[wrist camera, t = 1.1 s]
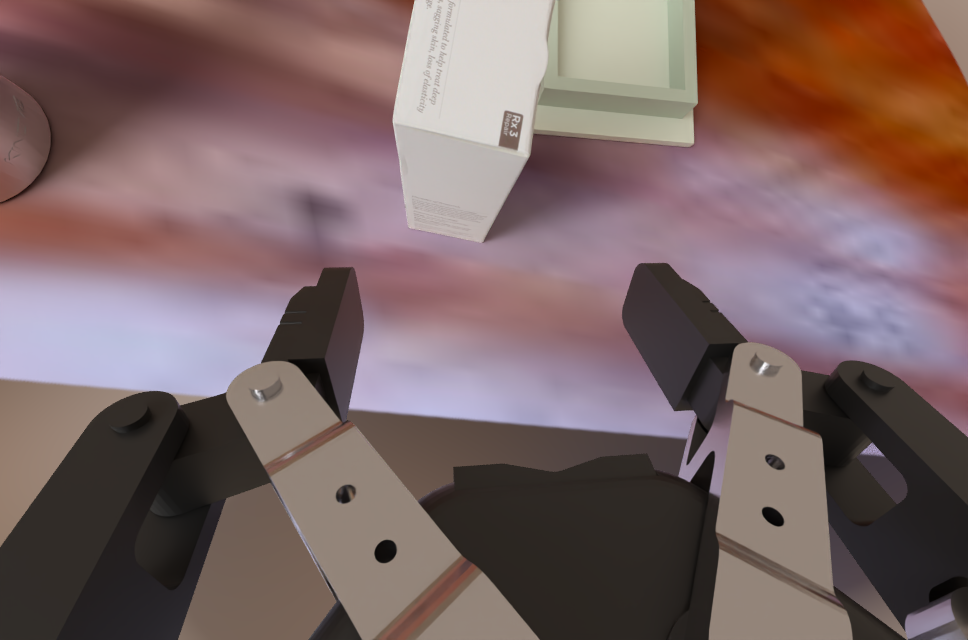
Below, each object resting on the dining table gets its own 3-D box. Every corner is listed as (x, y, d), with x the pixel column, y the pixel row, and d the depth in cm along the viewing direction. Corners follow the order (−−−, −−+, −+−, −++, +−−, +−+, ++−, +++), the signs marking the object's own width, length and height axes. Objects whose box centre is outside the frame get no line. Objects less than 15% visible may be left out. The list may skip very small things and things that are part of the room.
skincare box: (427, 129, 31) (420, -79, 16) (504, 147, 31) (566, -39, 17) (407, 235, 30) (380, 116, 15) (487, 251, 30) (536, 151, 16)
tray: (522, 132, 32) (530, 112, 29) (524, -76, 33) (532, -112, 31) (689, 147, 33) (710, 129, 31) (683, -52, 35) (703, -84, 32)
